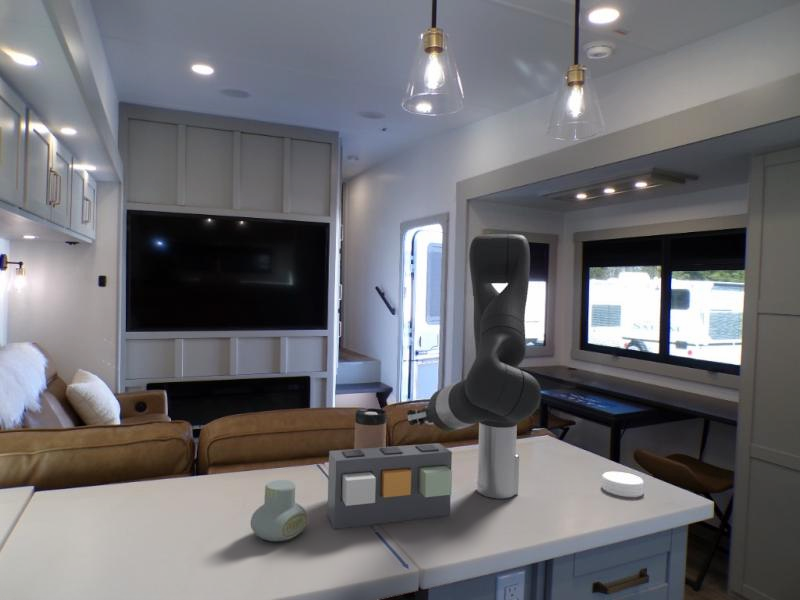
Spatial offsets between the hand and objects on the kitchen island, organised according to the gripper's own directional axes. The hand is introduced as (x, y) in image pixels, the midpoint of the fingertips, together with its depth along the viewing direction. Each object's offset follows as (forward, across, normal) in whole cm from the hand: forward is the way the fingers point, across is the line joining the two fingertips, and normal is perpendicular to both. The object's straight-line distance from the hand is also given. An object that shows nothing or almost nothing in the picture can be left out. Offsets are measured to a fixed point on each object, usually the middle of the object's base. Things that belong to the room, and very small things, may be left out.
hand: (423, 418), depth 103 cm
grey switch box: (+18, +6, +18) cm, 26 cm away
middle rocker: (+15, +5, +13) cm, 20 cm away
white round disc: (+20, -57, +26) cm, 66 cm away
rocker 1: (+13, +13, +13) cm, 22 cm away
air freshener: (+15, +29, +17) cm, 37 cm away
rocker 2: (+13, -4, +14) cm, 20 cm away
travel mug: (+30, +6, +14) cm, 34 cm away
